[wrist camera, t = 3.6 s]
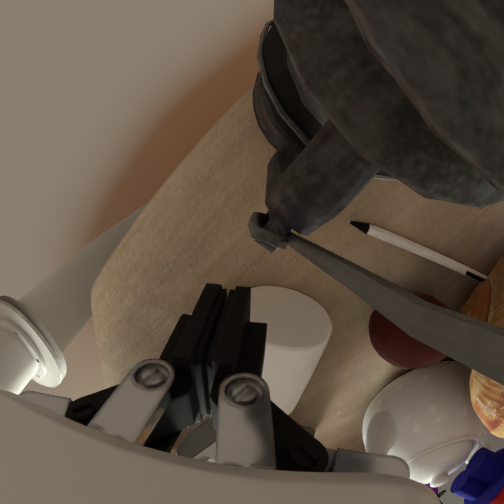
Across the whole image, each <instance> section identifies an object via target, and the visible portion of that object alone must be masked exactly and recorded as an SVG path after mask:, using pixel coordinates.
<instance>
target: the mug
mask: <svg viewBox="0 0 504 504" xmlns="http://www.w3.org/2000/svg"><path fill="white" fill-rule="evenodd" d="M191 314H192V312H191V313H190V314H189V315H191ZM250 322H260V323H267V336H266V347H265V356H264V364H263V372H262V378H263V379H264V380H265V381H266V383H267V384H268V387H269V390H270V400H271V401H272V402H274V403H275V404H276V405H277V406H278V407H279V408H280V409H281V410H283V411H284V412H285V413H286V414H287V415H289V414H290V413H291V412H292V411H293V409H294V408H295V406H296V404H297V403H298V401H299V399H300V397H301V395H302V393H303V391H304V389H305V388H306V386H307V384H308V382H309V380H310V378H311V376H312V374H313V372H314V370H315V368H316V366H317V364H318V362H319V360H320V358H321V356H322V354H323V352H324V349H325V347H326V345H327V343H328V341H329V339H330V337H331V334H332V322H331V319H330V317H329V315H328V313H327V312H326V311H325V309H324V308H323V307H322V306H321V305H320V304H318V303H317V302H316V301H314V300H313V299H311V298H310V297H308V296H306V295H304V294H302V293H300V292H297V291H294V290H291V289H288V288H283V287H276V286H260V287H255V288H251V308H250Z"/></svg>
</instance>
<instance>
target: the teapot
mask: <svg viewBox="0 0 504 504" xmlns="http://www.w3.org/2000/svg"><path fill="white" fill-rule="evenodd" d="M470 374H471V369H470V367H468V366H466V365H464V364H462V363H459V362H454V361H444V362H437V363H435V364H433V365H430V366H428V367H423V368H417V369H414V370H412V371H410V372H408V373H406V374H404V375H402V376H400V377H399V378H397V379H395V380H394V381H392V382H391V383H390V384H388V385H387V386H386V387H384V388H383V389H382V390H381V391H380V392H379V393H378V394H377V395H376V396H375V397H374V398H373V400H372V401H371V402H370V404H369V406H368V408H367V410H366V412H365V415H364V419H363V426H362V434H363V442H364V446H365V452H367V453H375V454H383V455H393V456H397V457H400V458H402V459H403V460H404V461H406V463H407V464H408V466H409V469H410V479H412V480H415V481H418V482H420V483H423V484H428V483H430V486H431V487H439V486H441V485H443V484H445V483H447V482H448V481H449V479H450V476H449V474H451V473H452V472H454V471H455V470H457V469H458V468H459V467H460V466H462V465H463V464H464V463H466V464H467V465H468V463H469V461H470V459H471V458H472V456H473V455H474V453H475V452H476V450H477V449H478V447H479V445H480V442H481V443H482V445H483V447H485V448H487V449H489V450H491V451H493V452H494V447H493V443H492V440H491V438H490V436H489V435H488V433H487V432H486V431H485V430H484V427H485V426H484V425H483V424H482V421H481V420H480V418H479V417H478V415H477V414H476V412H475V411H474V409H473V406H472V403H471V396H470V386H469V381H470Z"/></svg>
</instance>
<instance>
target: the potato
mask: <svg viewBox="0 0 504 504" xmlns="http://www.w3.org/2000/svg"><path fill="white" fill-rule="evenodd" d="M414 295H416V296H418V297H419V298H421V299H423V300H425V301H427V302H429V303H432V304H435V305H438V306H441V307H444V308H447V309H449V308H448V307H447V306H446V305H445V304H443V303H441V302H440V301H438V300H437V299H435V298H434V297H431V296H429V295H424V294H417V293H414ZM368 328H369V336H370V340H371V343H372V345H373V347H374V349H375V350H376V351H377V353H378V354H379V355H380V356H381V357H382V358H383V359H385V360H386V361H388V362H389V363H391V364H392V365H394V366H397V367H400V368H404V369H408V368H423V367H428V366H430V365H433V364H435V363H437V362H439V361H440V360H442V359H444V358H445V357H446V356H447V355H445V354H443V353H441V352H439V351H437V350H435V349H434V348H432V347H430V346H428V345H426V344H424V343H422V342H420V341H418V340H417V339H415V338H413V337H411V336H409V335H408V334H407V333H405V332H404V331H403V330H402V329H400V328H399V327H398V326H396V325H395V324H394V323H392V322H391V321H390V320H389V319H387V318H386V317H385V316H383V315H382V314H381V313H379V312H378V311H377V310H374V311H373V313H372V314H371V316H370V321H369V327H368Z"/></svg>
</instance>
